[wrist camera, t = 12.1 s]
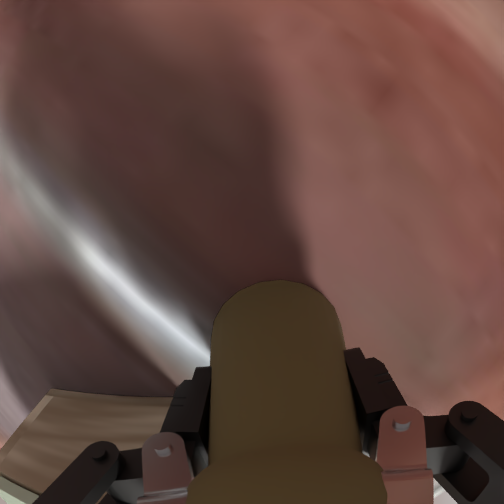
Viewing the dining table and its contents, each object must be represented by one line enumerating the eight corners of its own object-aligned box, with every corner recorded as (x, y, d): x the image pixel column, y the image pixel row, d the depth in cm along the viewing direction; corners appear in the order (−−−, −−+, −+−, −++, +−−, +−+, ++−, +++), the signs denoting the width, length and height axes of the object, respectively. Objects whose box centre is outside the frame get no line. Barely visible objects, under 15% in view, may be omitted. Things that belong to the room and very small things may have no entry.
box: (51, 388, 15) (-12, 465, 7) (188, 397, 15) (149, 524, 7) (118, 489, 18) (92, 556, 10) (231, 501, 17) (222, 584, 10)
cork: (349, 373, 14) (417, 572, 3) (234, 400, 15) (209, 601, 4) (328, 263, 13) (476, 498, 2) (192, 299, 13) (74, 535, 2)
